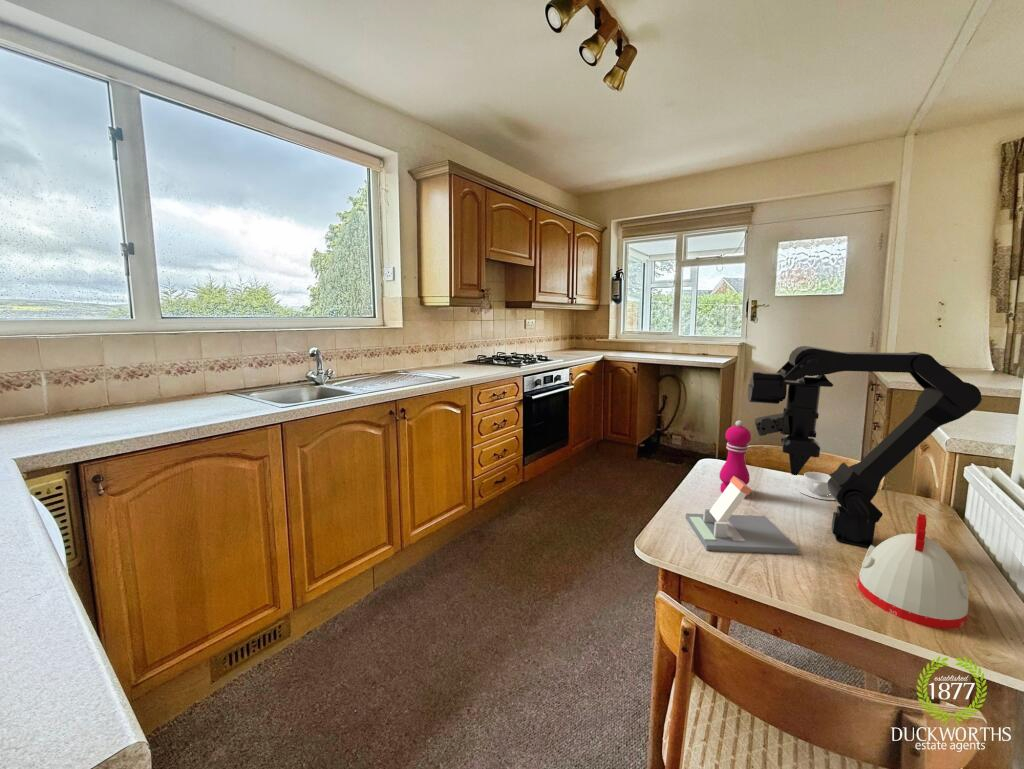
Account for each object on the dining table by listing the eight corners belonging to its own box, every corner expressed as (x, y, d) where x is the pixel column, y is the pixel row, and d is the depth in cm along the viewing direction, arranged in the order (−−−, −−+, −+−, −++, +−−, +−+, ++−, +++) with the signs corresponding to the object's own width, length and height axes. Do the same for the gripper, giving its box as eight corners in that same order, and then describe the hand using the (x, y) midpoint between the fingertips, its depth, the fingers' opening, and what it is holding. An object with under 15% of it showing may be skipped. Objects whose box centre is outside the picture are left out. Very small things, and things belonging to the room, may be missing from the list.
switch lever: (715, 514, 99) (741, 480, 97) (724, 526, 94) (751, 489, 92) (708, 510, 99) (733, 475, 97) (716, 521, 94) (743, 485, 92)
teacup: (801, 483, 125) (803, 467, 124) (844, 493, 118) (846, 476, 117) (792, 493, 118) (794, 477, 117) (837, 505, 111) (840, 487, 110)
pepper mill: (745, 500, 114) (752, 425, 110) (715, 493, 118) (721, 421, 114) (750, 491, 119) (757, 419, 116) (721, 484, 124) (727, 415, 120)
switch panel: (764, 520, 103) (766, 503, 102) (797, 553, 89) (800, 533, 88) (685, 518, 104) (686, 500, 104) (706, 550, 91) (708, 530, 90)
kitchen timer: (962, 597, 76) (978, 517, 73) (970, 642, 66) (989, 551, 63) (860, 566, 85) (871, 493, 82) (853, 602, 75) (866, 520, 72)
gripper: (759, 394, 106) (753, 456, 109) (758, 410, 90) (751, 482, 93) (815, 398, 100) (807, 463, 103) (824, 416, 85) (814, 493, 87)
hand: (793, 474), depth 97 cm, fingers closed
